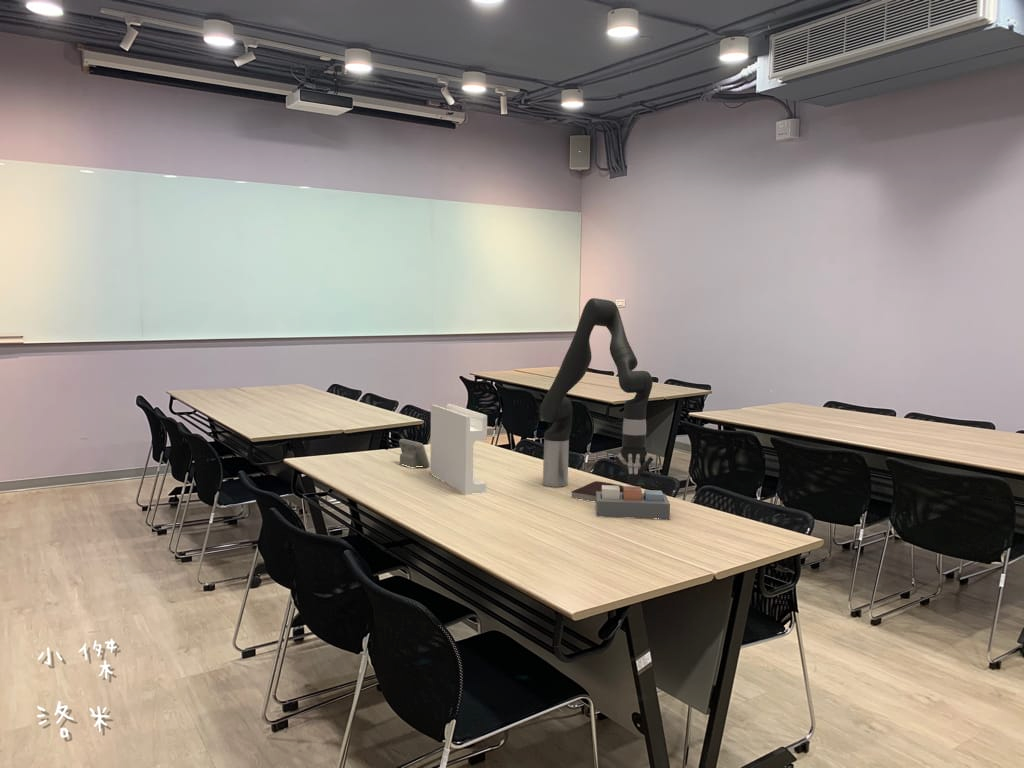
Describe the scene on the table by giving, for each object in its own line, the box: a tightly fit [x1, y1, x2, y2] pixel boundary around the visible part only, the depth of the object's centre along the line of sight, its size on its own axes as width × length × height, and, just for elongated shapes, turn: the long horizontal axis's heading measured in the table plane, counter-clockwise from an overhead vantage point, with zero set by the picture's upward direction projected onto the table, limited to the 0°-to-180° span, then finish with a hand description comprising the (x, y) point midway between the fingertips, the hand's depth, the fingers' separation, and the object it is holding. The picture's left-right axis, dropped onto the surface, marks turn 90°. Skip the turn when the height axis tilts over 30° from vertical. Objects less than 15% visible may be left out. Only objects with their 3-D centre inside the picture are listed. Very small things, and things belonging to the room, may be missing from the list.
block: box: [429, 403, 488, 495], centre depth 275 cm, size 35×8×28 cm, turn 27°
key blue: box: [643, 489, 664, 501], centre depth 239 cm, size 6×6×4 cm
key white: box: [601, 485, 620, 500], centre depth 240 cm, size 6×6×4 cm
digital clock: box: [398, 438, 430, 468], centre depth 306 cm, size 16×9×11 cm, turn 31°
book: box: [570, 480, 624, 503], centre depth 262 cm, size 12×19×3 cm, turn 147°
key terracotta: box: [622, 485, 643, 500], centre depth 240 cm, size 6×6×4 cm
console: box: [595, 491, 671, 520], centre depth 240 cm, size 23×13×5 cm, turn 85°
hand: (632, 484), depth 239 cm, fingers closed
